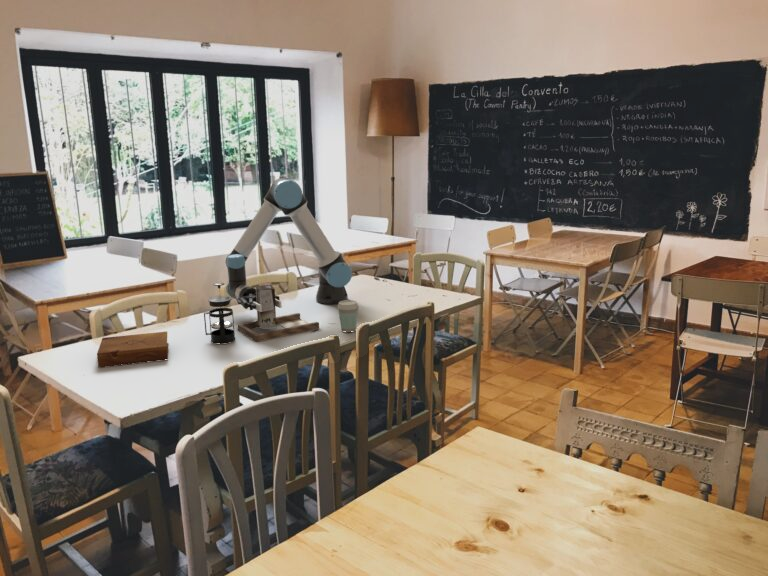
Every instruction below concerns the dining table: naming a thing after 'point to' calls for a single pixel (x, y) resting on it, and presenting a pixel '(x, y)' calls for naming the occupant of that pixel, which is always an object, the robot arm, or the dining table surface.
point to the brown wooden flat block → (132, 349)
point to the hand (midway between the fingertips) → (270, 306)
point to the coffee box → (266, 306)
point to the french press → (220, 319)
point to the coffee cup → (348, 315)
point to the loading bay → (290, 324)
